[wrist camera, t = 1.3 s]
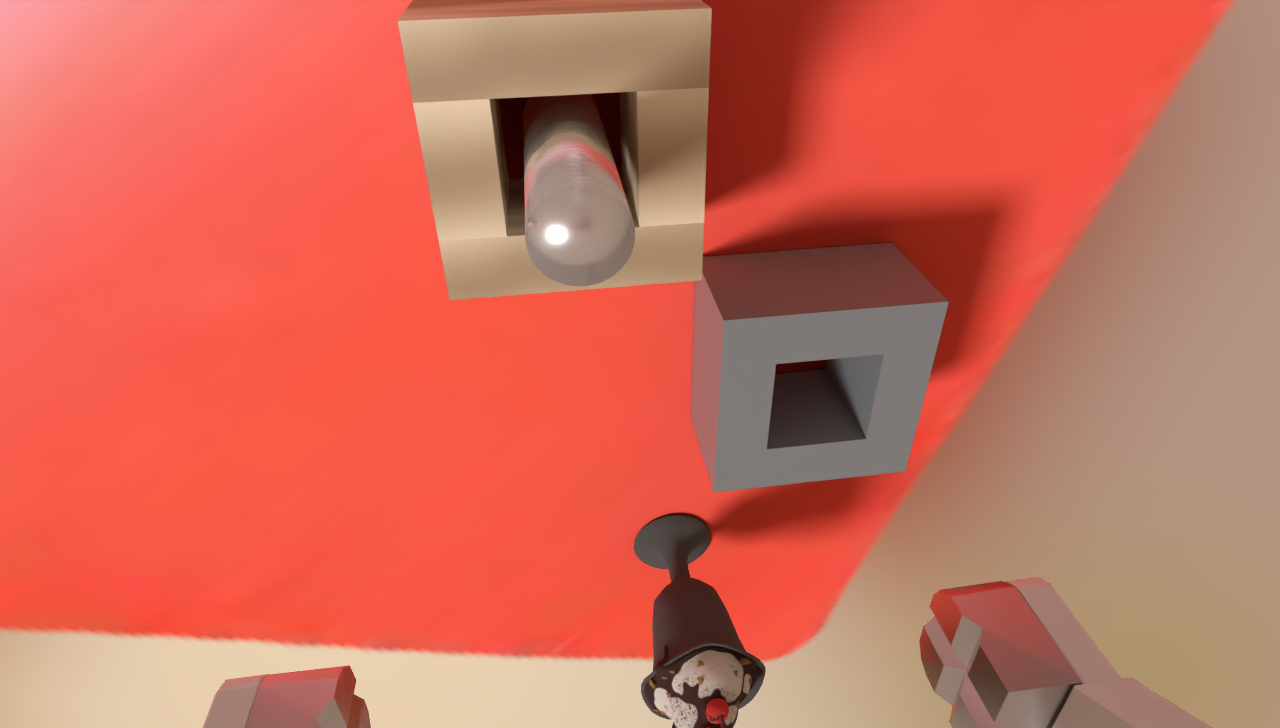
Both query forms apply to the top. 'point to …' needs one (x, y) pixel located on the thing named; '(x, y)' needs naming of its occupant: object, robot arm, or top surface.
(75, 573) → the top surface
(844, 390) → the dock block
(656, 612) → the sundae
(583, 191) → the pin
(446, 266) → the mount block
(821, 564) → the top surface
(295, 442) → the top surface
